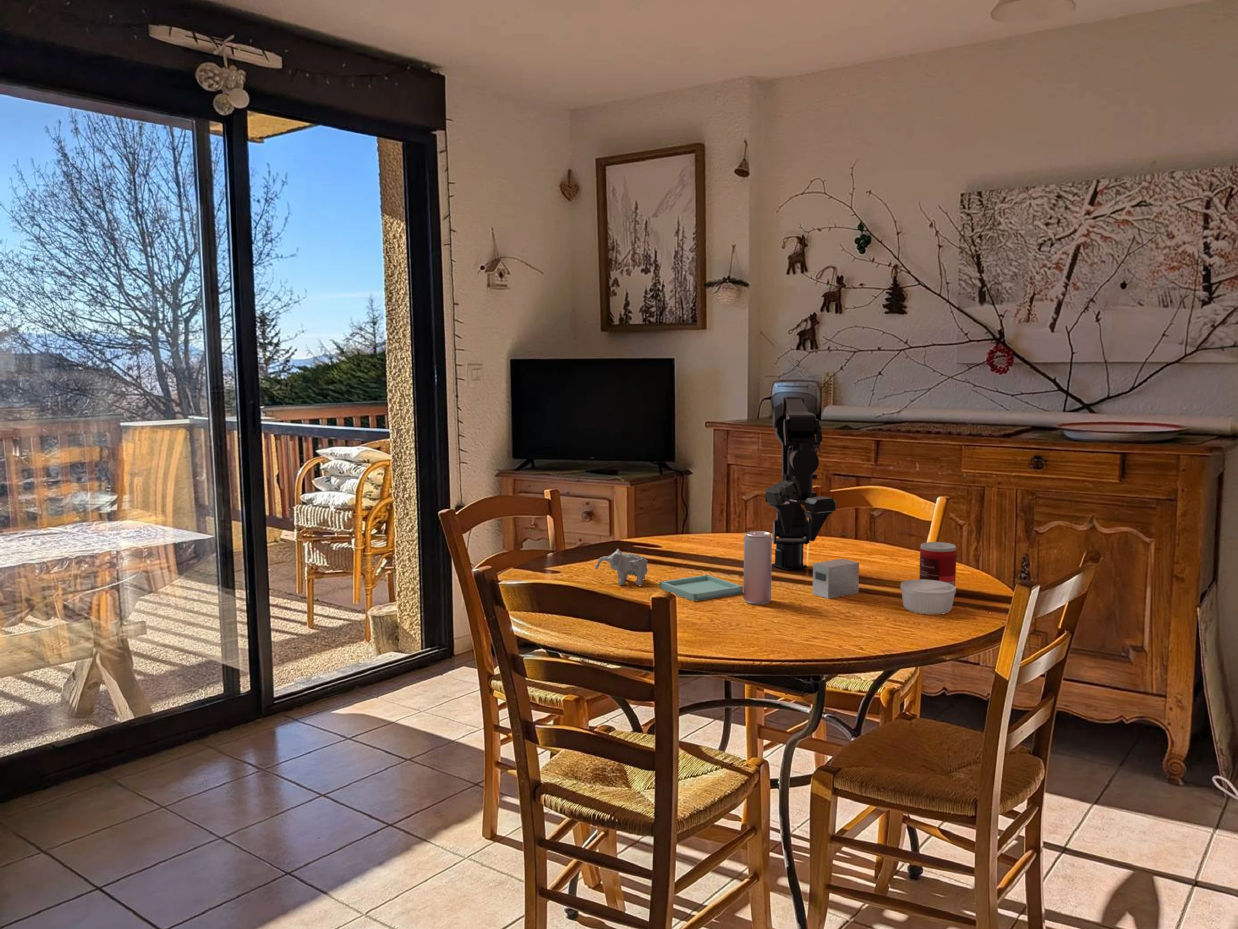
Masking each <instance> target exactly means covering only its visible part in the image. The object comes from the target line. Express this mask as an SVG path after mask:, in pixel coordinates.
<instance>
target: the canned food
mask: <svg viewBox="0 0 1238 929" xmlns="http://www.w3.org/2000/svg"><path fill="white" fill-rule="evenodd" d="M919 548H920V551H919V579H924V580H936V581H942V582H946V583H950V584H952V585H954V586H955V587H956V577H957V576H956V575H957V546H956V544H953V543H949V542H944V541H943V542H942V541H941V542H940V541H928V542H923V543H921V544H920V547H919Z"/></svg>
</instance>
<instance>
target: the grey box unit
mask: <svg viewBox="0 0 1238 929" xmlns="http://www.w3.org/2000/svg"><path fill="white" fill-rule="evenodd" d="M859 576H860V562H858V561H854V560H851V559H846V558H839V559H831V560H825V561H819V562H813V563H812V595H815V596H817V597H821V598H824V599H827V600H829V599H834V598H835V597H836V598H840V597H839V596H841V597H845V595H847V596H852V595H857V594H859V586H860V585H859V582H860V581H859V579H860V577H859Z"/></svg>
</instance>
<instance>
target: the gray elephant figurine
mask: <svg viewBox="0 0 1238 929" xmlns="http://www.w3.org/2000/svg"><path fill="white" fill-rule="evenodd" d="M603 561H604V562H608V563H609V564H610V566H609V567H610V569H611V570H614V571H616V574H617V580H618V581H617V584H618V585H619V584H620V585H619V586H621V585H623V586H624V585H625V584H626V580H628V575H629V576H634V577H636V581H635V584H636V586H637V585H642V586H643V584H644V583H643V582H644V580H645V579H646V575H647V574H648V560H647V558H645V556H641V555H639V554H636V553H631V552H629V553H627V552H622V551H621V549H619V548H616V550H615V551H614V552H613V553H612V554H611V555H610V554H609V555H607V556H601V557H599V558H598V560H597V563H596V564H595V570H598V569H599V568H600V564H601V563H602V562H603ZM643 579H644V580H643Z"/></svg>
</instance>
